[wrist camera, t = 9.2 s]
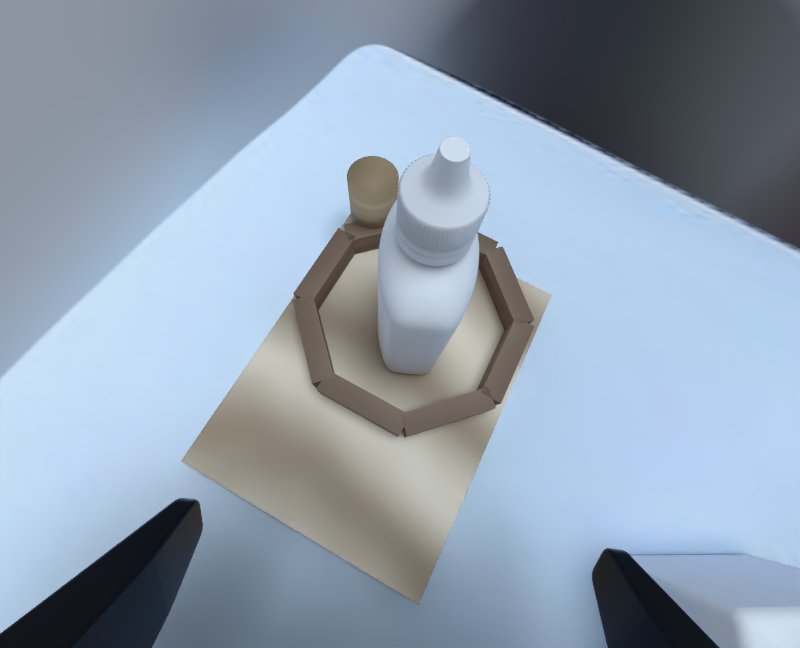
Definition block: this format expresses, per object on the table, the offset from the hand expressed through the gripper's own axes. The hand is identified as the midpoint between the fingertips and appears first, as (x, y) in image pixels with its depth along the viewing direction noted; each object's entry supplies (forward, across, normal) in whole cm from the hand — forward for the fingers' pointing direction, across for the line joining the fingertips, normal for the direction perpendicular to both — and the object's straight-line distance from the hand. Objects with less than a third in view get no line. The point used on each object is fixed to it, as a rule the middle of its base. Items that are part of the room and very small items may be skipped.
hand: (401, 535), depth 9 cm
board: (+11, +1, +3) cm, 12 cm away
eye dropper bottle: (+12, 0, +1) cm, 13 cm away
